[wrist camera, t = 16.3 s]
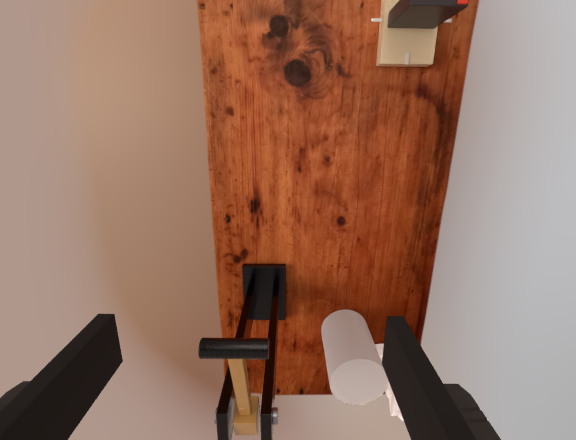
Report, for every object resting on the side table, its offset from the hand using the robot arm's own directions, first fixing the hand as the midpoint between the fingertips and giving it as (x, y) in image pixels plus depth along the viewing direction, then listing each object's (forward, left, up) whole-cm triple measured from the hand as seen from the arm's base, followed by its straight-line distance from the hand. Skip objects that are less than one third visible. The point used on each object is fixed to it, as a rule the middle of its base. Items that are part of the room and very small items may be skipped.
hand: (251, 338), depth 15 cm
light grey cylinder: (+27, +5, -35) cm, 44 cm away
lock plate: (-17, +22, -35) cm, 45 cm away
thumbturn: (-17, +22, -33) cm, 43 cm away
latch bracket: (+16, -7, -35) cm, 39 cm away
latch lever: (+10, -5, -10) cm, 15 cm away
